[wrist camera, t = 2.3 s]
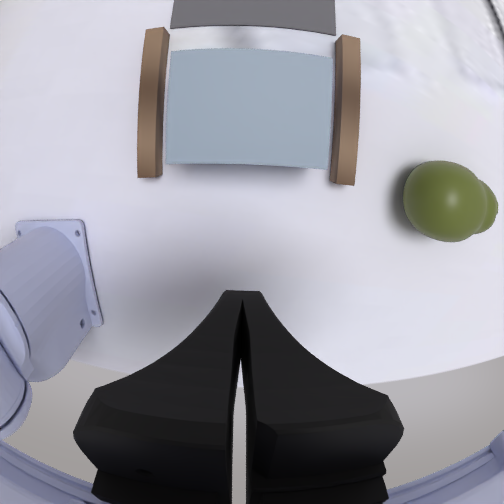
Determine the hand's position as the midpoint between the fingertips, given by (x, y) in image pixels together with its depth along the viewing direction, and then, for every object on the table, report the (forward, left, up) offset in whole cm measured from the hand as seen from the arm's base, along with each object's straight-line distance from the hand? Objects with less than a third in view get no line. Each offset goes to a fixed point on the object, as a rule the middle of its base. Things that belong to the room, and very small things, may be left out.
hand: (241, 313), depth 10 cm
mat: (+19, 0, -9) cm, 21 cm away
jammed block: (+8, 0, -9) cm, 12 cm away
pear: (+4, -15, -10) cm, 19 cm away
